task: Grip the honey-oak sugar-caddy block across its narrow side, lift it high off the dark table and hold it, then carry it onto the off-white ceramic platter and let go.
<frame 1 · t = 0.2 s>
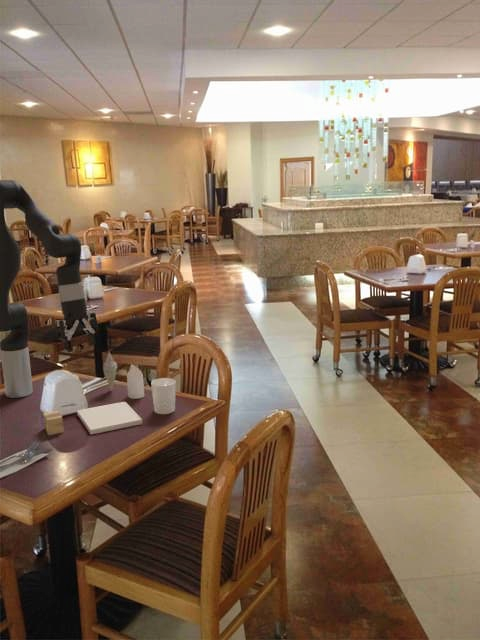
hand: (81, 348, 181), 22 cm above the table, tool pointing down, fingers open, 8 cm apart
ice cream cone: (111, 391, 208), on the table
white cup: (164, 411, 188), on the table
platter: (109, 419, 181), on the table
oak block: (54, 430, 174), on the table
white pointed crystal: (136, 396, 202), on the table
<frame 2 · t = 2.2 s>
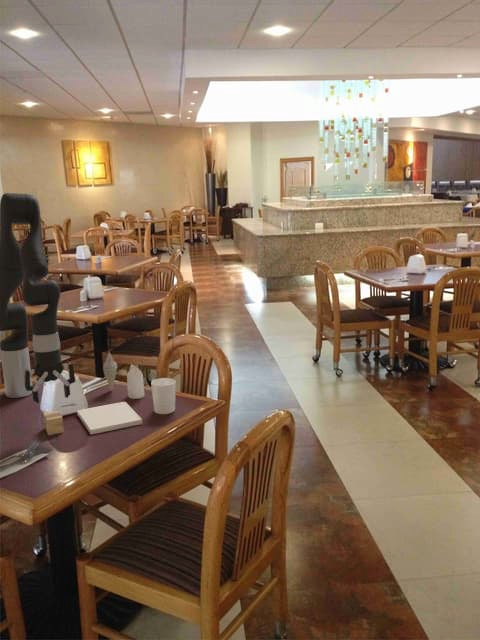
hand: (52, 399, 171), 10 cm above the table, tool pointing down, fingers open, 8 cm apart
nothing on the table moved.
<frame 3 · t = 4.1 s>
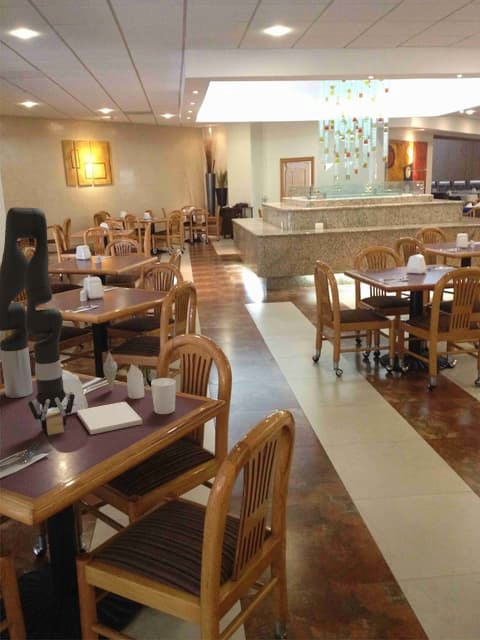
hand: (54, 428, 174), 1 cm above the table, tool pointing down, fingers closed on oak block, 4 cm apart
oak block: (54, 430, 174), on the table, touching gripper
everything else where it was.
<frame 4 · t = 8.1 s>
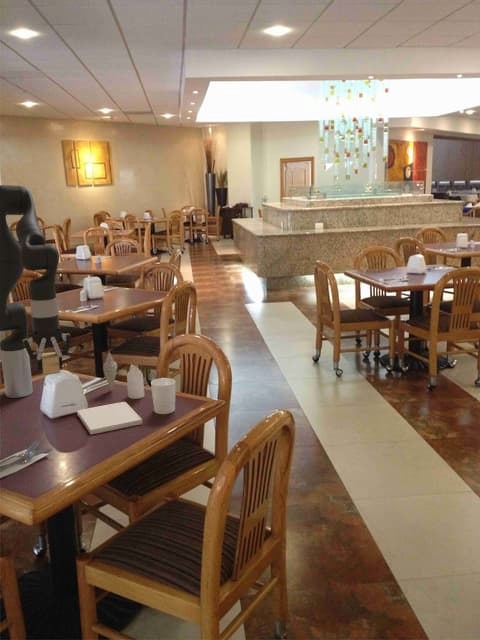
hand: (50, 369, 170), 19 cm above the table, tool pointing down, fingers closed on oak block, 4 cm apart
oak block: (50, 371, 170), point 19 cm above the table, touching gripper
everything else where it was.
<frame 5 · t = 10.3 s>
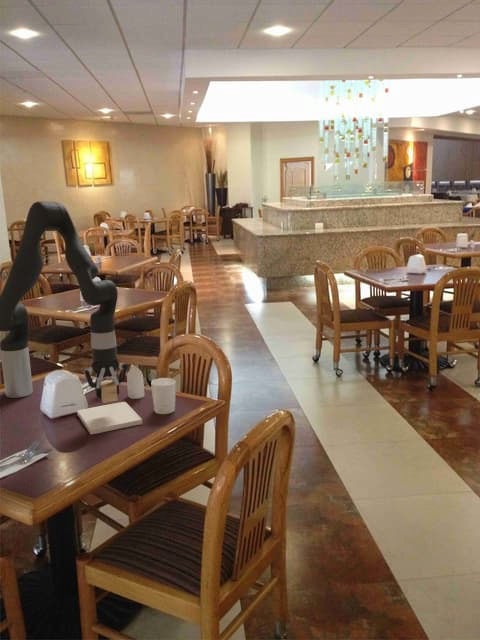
hand: (107, 396, 180), 7 cm above the table, tool pointing down, fingers closed on oak block, 4 cm apart
oak block: (108, 398, 180), point 7 cm above the table, touching gripper
everything else where it was.
when the fingers open (3 cm above the table, at t = 12.0 s): oak block drops 1 cm, resting on platter.
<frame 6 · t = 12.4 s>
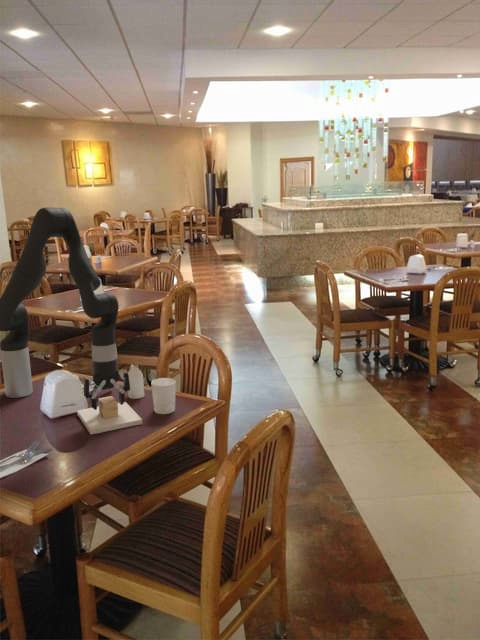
hand: (108, 406, 180), 4 cm above the table, tool pointing down, fingers open, 8 cm apart
oak block: (108, 414, 181), point 1 cm above the table, touching platter
everything else where it was.
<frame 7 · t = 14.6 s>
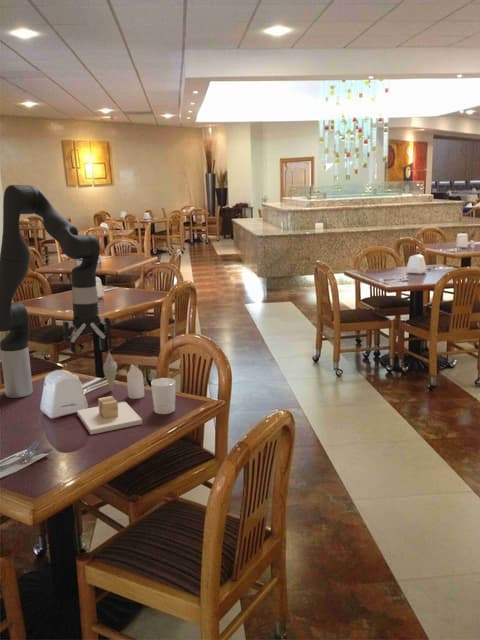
hand: (88, 351, 178), 22 cm above the table, tool pointing down, fingers open, 8 cm apart
nothing on the table moved.
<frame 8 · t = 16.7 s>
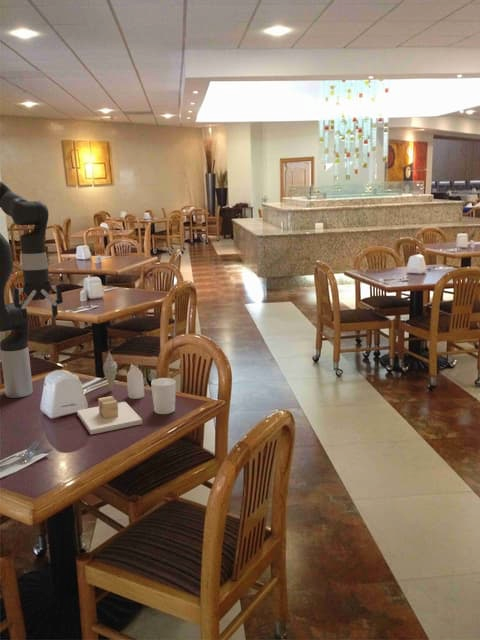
hand: (40, 318, 179), 32 cm above the table, tool pointing down, fingers open, 8 cm apart
nothing on the table moved.
at the end: oak block inside the target area on the platter (0.0 cm from its centre), point 1.5 cm above the platter's base; oak block touching platter; the gripper is holding nothing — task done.
